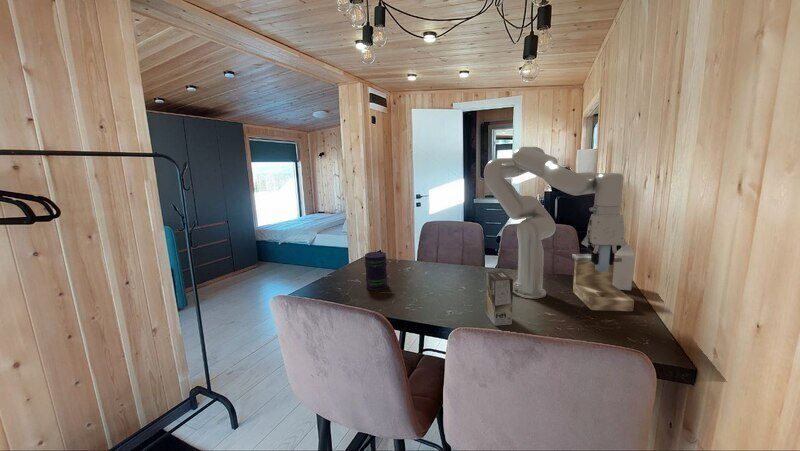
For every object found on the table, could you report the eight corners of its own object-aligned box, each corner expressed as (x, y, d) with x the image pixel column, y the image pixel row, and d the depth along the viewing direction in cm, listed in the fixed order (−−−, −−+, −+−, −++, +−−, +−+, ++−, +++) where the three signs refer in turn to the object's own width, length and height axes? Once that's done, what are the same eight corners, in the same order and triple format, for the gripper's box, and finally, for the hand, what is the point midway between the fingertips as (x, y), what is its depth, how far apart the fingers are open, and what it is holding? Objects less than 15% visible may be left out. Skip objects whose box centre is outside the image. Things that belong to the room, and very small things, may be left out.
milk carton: (631, 290, 137) (635, 246, 133) (612, 290, 138) (615, 245, 135) (623, 284, 143) (627, 242, 140) (605, 284, 145) (608, 241, 142)
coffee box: (512, 324, 111) (514, 279, 109) (494, 326, 111) (495, 280, 108) (502, 313, 120) (503, 270, 118) (485, 314, 120) (485, 271, 117)
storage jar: (389, 282, 157) (387, 251, 154) (386, 289, 147) (384, 257, 144) (368, 282, 158) (366, 251, 155) (364, 289, 148) (362, 257, 145)
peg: (597, 271, 112) (600, 242, 110) (592, 267, 116) (595, 240, 114) (610, 271, 111) (613, 242, 109) (605, 268, 115) (607, 240, 113)
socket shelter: (588, 309, 120) (591, 267, 118) (570, 290, 138) (572, 254, 136) (636, 311, 118) (640, 268, 115) (611, 291, 136) (614, 254, 133)
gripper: (584, 212, 107) (580, 266, 111) (640, 212, 105) (634, 267, 108) (575, 209, 115) (572, 260, 118) (628, 208, 112) (623, 260, 116)
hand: (602, 263), depth 113 cm, fingers closed on peg, 4 cm apart
